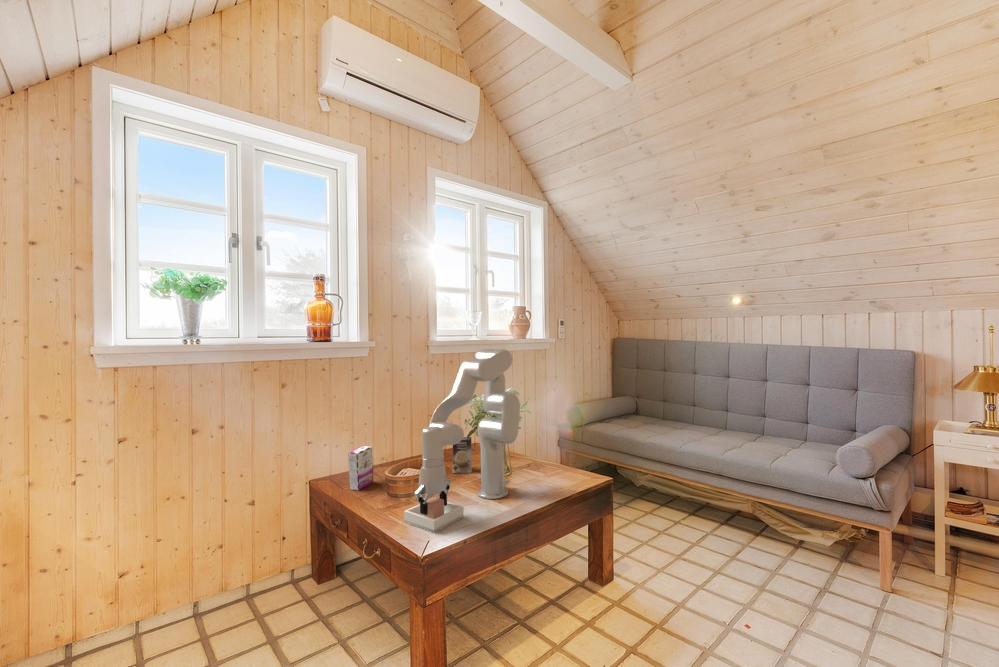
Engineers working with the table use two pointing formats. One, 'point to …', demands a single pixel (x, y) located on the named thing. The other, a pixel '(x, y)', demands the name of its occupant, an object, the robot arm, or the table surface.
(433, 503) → the pink block
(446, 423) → the robot arm
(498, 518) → the table surface
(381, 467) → the table surface
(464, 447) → the coffee box
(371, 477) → the candy bar box
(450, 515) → the tray
